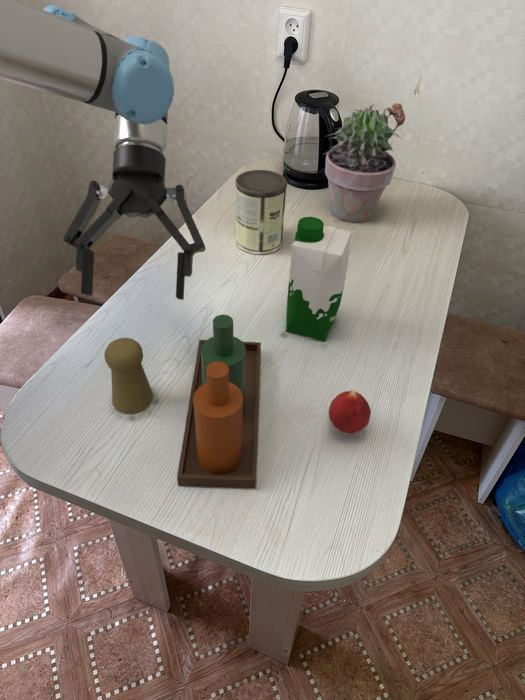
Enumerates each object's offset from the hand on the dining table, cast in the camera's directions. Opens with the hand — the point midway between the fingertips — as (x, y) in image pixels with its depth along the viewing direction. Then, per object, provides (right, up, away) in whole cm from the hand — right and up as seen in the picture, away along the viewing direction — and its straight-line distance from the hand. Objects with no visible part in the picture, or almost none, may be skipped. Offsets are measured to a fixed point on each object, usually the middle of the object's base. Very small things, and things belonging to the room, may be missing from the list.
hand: (133, 296), depth 74 cm
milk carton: (+28, -3, +17) cm, 33 cm away
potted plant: (+39, +25, +48) cm, 67 cm away
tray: (+13, -17, +2) cm, 21 cm away
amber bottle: (+13, -22, -5) cm, 26 cm away
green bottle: (+13, -16, +1) cm, 21 cm away
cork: (-1, -15, +3) cm, 16 cm away
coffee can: (+18, +16, +36) cm, 44 cm away
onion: (+31, -20, 0) cm, 37 cm away
